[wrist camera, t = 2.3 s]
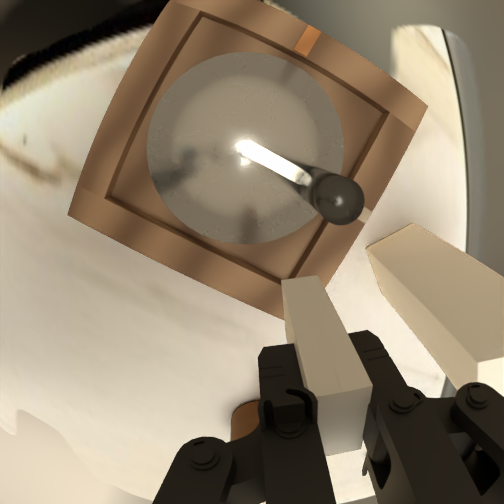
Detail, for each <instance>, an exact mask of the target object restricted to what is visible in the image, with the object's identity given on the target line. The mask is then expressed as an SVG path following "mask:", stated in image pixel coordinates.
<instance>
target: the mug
mask: <svg viewBox="0 0 504 504" xmlns="http://www.w3.org/2000/svg"><path fill="white" fill-rule="evenodd" d="M258 403H259V401H253V402H249V403H246V404H244V405H242V406H240V407H239V408H238V409H237V410H236V411H235V412H234V414H233V416H232V420H231V440H230V441H233V440H236V439H239V438H242V437H244V436H246V435H248V434H249V433H251V432H252V431H254V429H255V428H256V427H257V426H258V425H259V422H260V421H259V416H258V410H257V408H258Z"/></svg>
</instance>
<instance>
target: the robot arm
mask: <svg viewBox="0 0 504 504" xmlns="http://www.w3.org/2000/svg"><path fill="white" fill-rule="evenodd" d="M281 285H282V295H283V307H284V318H285V330H286V338H287V343H288V344H284V345H276V346H268V347H263V349H262V351H261V353H260V354H259V356H258V367H259V382H260V397H261V399H260V400H259V403H258V408H257V410H258V416H259V421H260V422H259V425H258V426H257V427H256V428H255V429H254V431H252V432H251V433H249V434H248V435H246V436H244V437H242V438H239V439H236V440H233V441H230V442H227V443H225V442H224V441H223V440H221V439H218V438H215V437H199V438H196V439H192V440H190V441H189V442H187V443H185V444H184V445H183V446H182V447H181V448H180V450H179V451H178V452H177V454H176V456H175V458H174V460H173V462H172V464H171V466H170V468H169V471H168V473H167V475H166V477H165V479H164V481H163V483H162V485H161V487H160V489H159V491H158V493H157V495H156V497H155V499H154V501H153V503H152V504H260V503H262V502H265V501H266V504H336V500H335V496H334V492H333V487H332V483H331V478H330V474H329V470H328V465H327V461H326V457H325V456H329V455H334V454H339V453H344V452H349V451H353V450H358V449H361V446H362V442H363V440H364V443H365V446H366V448H367V454H366V458H365V461H364V465H363V469H362V476H365V475H366V474H367V470H368V472H369V475H370V478H371V481H372V484H373V488H374V491H375V494H376V497H377V501H378V504H504V397H503V396H502V395H501V394H500V393H498V392H497V391H496V390H495V389H493V388H492V387H490V386H489V385H487V384H485V383H480V382H470V383H467V384H465V385H463V386H462V387H461V388H460V389H459V390H458V391H457V393H456V396H455V397H448V398H427V397H426V396H425V395H424V394H423V393H422V392H421V391H420V390H418V389H416V388H413V387H409V386H408V385H407V384H406V382H405V381H404V379H403V377H402V375H401V374H400V372H399V370H398V369H397V367H396V365H395V364H394V362H393V360H392V359H391V357H389V354H388V352H387V350H386V349H384V346H383V344H382V342H381V341H380V339H379V337H377V336H376V335H374V334H373V333H371V332H370V331H368V330H365V331H360V332H354V333H348V334H347V332H346V330H345V328H344V326H343V324H342V322H341V320H340V318H339V316H338V314H337V312H336V310H335V308H334V306H333V304H332V302H331V300H330V298H329V296H328V294H327V292H326V290H325V288H324V286H323V285H322V283H321V281H320V279H319V277H318V275H316V276H308V277H301V278H293V279H285V280H281Z"/></svg>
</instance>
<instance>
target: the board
mask: <svg viewBox="0 0 504 504" xmlns="http://www.w3.org/2000/svg"><path fill="white" fill-rule="evenodd" d="M237 52H256V53H262V54H268V55H272V56H275V57H278V58H281V59H284V60H286V61H288V62H290V63H292V64H294V65H296V66H298V67H299V68H301V69H302V70H304V71H305V72H306V73H308V74H309V75H310V76H311V77H313V78H314V79H315V80H316V81H317V82H318V83H319V85H320V86H321V87H322V88H323V89H324V90H325V92H326V93H327V95H328V96H329V98H330V99H331V101H332V103H333V105H334V107H335V109H336V111H337V113H338V116H339V119H340V122H341V126H342V131H343V138H344V159H343V165H342V170H341V174H340V175H341V176H344V177H347V178H350V179H352V180H354V181H355V182H357V183H358V184H359V186H360V187H361V188H362V190H363V193H364V197H365V204H364V208H363V211H362V213H361V215H360V216H359V217H358V218H357V219H356V220H355V221H354V222H352V223H350V224H347V225H334V224H332V223H330V222H328V221H327V220H326V219H325V218H324V217H323V216H322V215H320V214H319V213H318V214H317V215H316V216H314V217H313V218H312V219H311V220H310V221H309V222H308V223H306V224H305V225H304V226H302V227H301V228H299V229H298V230H296V231H294V232H292V233H290V234H288V235H286V236H284V237H281V238H278V239H276V240H272V241H268V242H264V243H256V244H233V243H227V242H222V241H218V240H215V239H211V238H209V237H207V236H204V235H202V234H200V233H198V232H196V231H194V230H193V229H191V228H189V227H188V226H187V225H185V224H184V223H183V222H181V221H180V220H179V219H178V218H177V217H176V216H175V215H174V214H173V213H172V212H171V211H170V210H169V209H168V207H167V206H166V205H165V203H164V202H163V201H162V199H161V197H160V196H159V194H158V192H157V190H156V188H155V186H154V183H153V181H152V178H151V174H150V171H149V167H148V160H147V137H148V130H149V126H150V123H151V119H152V116H153V114H154V111H155V109H156V107H157V105H158V103H159V101H160V100H161V98H162V96H163V95H164V93H165V92H166V91H167V90H168V88H169V87H170V86H171V85H172V84H173V83H174V82H175V81H176V80H177V79H178V78H179V77H180V76H181V75H182V74H184V73H185V72H186V71H188V70H189V69H191V68H192V67H194V66H196V65H197V64H199V63H201V62H203V61H205V60H208V59H211V58H213V57H216V56H220V55H224V54H228V53H237ZM427 108H428V106H427V105H426V104H425V103H424V102H423V101H421V100H420V99H419V98H418V97H417V96H415V95H414V94H413V93H412V92H410V91H409V90H408V89H407V88H405V87H404V86H403V85H401V84H400V83H399V82H397V81H396V80H395V79H393V78H392V77H391V76H389V75H388V74H387V73H385V72H384V71H382V70H381V69H380V68H378V67H377V66H375V65H374V64H372V63H371V62H369V61H368V60H366V59H365V58H363V57H362V56H361V55H359V54H357V53H356V52H354V51H353V50H351V49H349V48H348V47H346V46H345V45H343V44H341V43H340V42H338V41H336V40H335V39H333V38H331V37H330V36H328V35H326V34H324V33H323V32H321V31H319V30H317V29H316V28H314V27H312V26H310V25H308V24H306V23H304V22H302V21H300V20H299V19H297V18H295V17H293V16H291V15H289V14H286V13H284V12H282V11H280V10H278V9H276V8H274V7H272V6H269V5H267V4H265V3H263V2H260V1H258V0H170V1H169V2H168V4H167V5H166V7H165V8H164V10H163V11H162V13H161V14H160V16H159V17H158V19H157V20H156V22H155V23H154V25H153V26H152V28H151V30H150V31H149V33H148V34H147V36H146V38H145V39H144V41H143V43H142V44H141V46H140V48H139V49H138V51H137V53H136V55H135V56H134V58H133V60H132V62H131V64H130V65H129V67H128V69H127V71H126V73H125V75H124V77H123V79H122V80H121V82H120V84H119V86H118V88H117V90H116V92H115V94H114V96H113V98H112V101H111V103H110V105H109V107H108V109H107V111H106V113H105V116H104V118H103V120H102V122H101V125H100V127H99V129H98V132H97V134H96V136H95V139H94V141H93V144H92V146H91V149H90V151H89V154H88V156H87V159H86V161H85V164H84V167H83V170H82V172H81V175H80V178H79V181H78V184H77V187H76V190H75V193H74V196H73V199H72V202H71V205H70V208H69V212H68V215H69V216H70V217H72V218H74V219H76V220H78V221H80V222H81V223H83V224H85V225H87V226H89V227H91V228H93V229H95V230H97V231H98V232H100V233H102V234H104V235H106V236H108V237H110V238H112V239H114V240H116V241H118V242H120V243H121V244H123V245H125V246H127V247H129V248H131V249H133V250H135V251H137V252H139V253H141V254H143V255H145V256H147V257H149V258H151V259H153V260H155V261H157V262H159V263H161V264H163V265H165V266H167V267H169V268H171V269H174V270H176V271H178V272H180V273H182V274H184V275H186V276H188V277H190V278H192V279H194V280H196V281H198V282H201V283H203V284H205V285H207V286H209V287H211V288H213V289H216V290H218V291H220V292H222V293H224V294H226V295H228V296H231V297H233V298H235V299H237V300H239V301H242V302H244V303H246V304H248V305H250V306H253V307H255V308H257V309H259V310H262V311H264V312H266V313H268V314H271V315H273V316H275V317H278V318H280V319H282V320H284V321H285V318H284V307H283V295H282V285H281V280H285V279H293V278H301V277H308V276H316V275H318V277H319V279H320V281H321V283H322V285H323V286H324V288H325V287H326V286H327V284H328V283H329V281H330V280H331V278H332V276H333V275H334V273H335V272H336V270H337V269H338V267H339V265H340V264H341V262H342V261H343V259H344V257H345V256H346V254H347V253H348V251H349V249H350V248H351V246H352V245H353V243H354V241H355V240H356V238H357V236H358V235H359V233H360V231H361V230H362V228H363V226H364V225H365V223H366V221H367V220H368V218H369V216H370V215H371V213H372V211H373V209H374V208H375V206H376V204H377V202H378V201H379V199H380V197H381V195H382V194H383V192H384V190H385V188H386V187H387V185H388V183H389V181H390V179H391V178H392V176H393V174H394V172H395V170H396V168H397V166H398V165H399V163H400V161H401V159H402V157H403V155H404V153H405V151H406V150H407V148H408V146H409V144H410V142H411V140H412V138H413V136H414V134H415V132H416V130H417V128H418V126H419V124H420V122H421V120H422V118H423V116H424V114H425V112H426V110H427Z"/></svg>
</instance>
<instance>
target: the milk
mask: <svg viewBox="0 0 504 504" xmlns="http://www.w3.org/2000/svg"><path fill="white" fill-rule="evenodd" d="M366 251H367V254H368V256H369V259H370V262H371V264H372V267H373V270H374V273H375V275H376V278H377V281H378V284H379V287H380V290H381V293H382V295H383V296H384V297H385V298H386V300H387V301H388V302H389V303H390V304H391V306H392V307H393V308H394V309H395V310H396V312H397V313H398V314H399V315H400V317H401V318H402V319H403V320H404V321H405V323H406V324H407V325H408V326H409V328H410V329H411V330H412V331H413V333H414V334H415V335H416V336H417V338H418V339H419V340H420V342H421V343H422V344H423V345H424V347H425V348H426V349H427V350H428V352H429V353H430V354H431V356H432V357H433V358H434V360H435V361H436V362H437V364H438V365H439V366H440V368H441V369H442V370H443V372H444V373H445V374H446V376H447V377H448V378H449V380H450V381H451V382H452V384H453V385H454V386H455V388H456V389H457V391H458V390H459V389H460V388H461V387H462V386H463V385H465V384H467V383H470V382H480V383H485V384H487V385H489V386H490V387H492V388H493V389H495V390H496V391H497V392H498V393H500V394H501V395H502V396H503V397H504V277H502V276H501V275H499V274H498V273H496V272H495V271H493V270H491V269H490V268H488V267H487V266H485V265H484V264H482V263H481V262H479V261H477V260H476V259H474V258H473V257H471V256H469V255H468V254H466V253H464V252H463V251H461V250H459V249H458V248H456V247H454V246H453V245H451V244H449V243H448V242H446V241H444V240H442V239H441V238H439V237H437V236H436V235H434V234H432V233H430V232H428V231H427V230H425V229H423V228H421V227H420V226H418V225H416V224H414V223H412V224H410V225H408V226H406V227H405V228H403V229H401V230H399V231H397V232H395V233H393V234H392V235H390V236H388V237H386V238H384V239H382V240H380V241H378V242H377V243H375V244H373V245H371V246H369V247H367V248H366Z"/></svg>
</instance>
